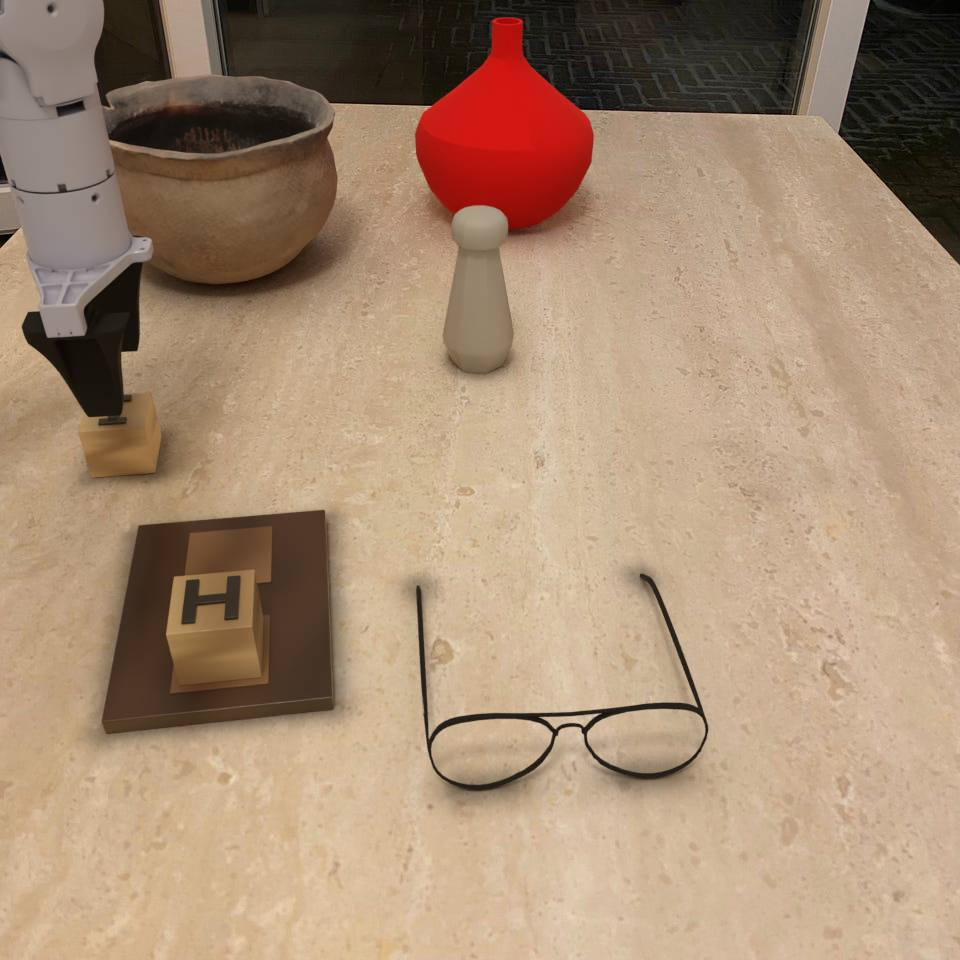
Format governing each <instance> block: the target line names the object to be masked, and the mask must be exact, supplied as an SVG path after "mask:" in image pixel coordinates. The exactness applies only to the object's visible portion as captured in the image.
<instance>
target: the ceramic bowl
mask: <svg viewBox="0 0 960 960" xmlns="http://www.w3.org/2000/svg"><path fill="white" fill-rule="evenodd" d="M105 98H106V100H107V102H108V104H109V107H108V106H105V105H102V104H101V106H102V111H103V115H104V120H105V124H106V129H107V133H108V138H109V143H110V147H111V152H112V156H113V161H114V165H115V170H116V175H117V179H118V184H119V189H120V194H121V198H122V203H123V208H124V212H125V217H126V221H127V226H128V230H129V232H130V233H131V235H132V236H142V237H146V238H150V239H151V240H152V244H153V249H154V250H153V254H152V257H151V259H150V260H148V261H145V263H148V264H150V265H151V266H153V267H154V268H155V269H158V270H159V271H161V272H163V273H166V274H168V275H170V276H172V277H174V278H177V279H179V280H182V281H186V282H190V283H199V284H210V285H224V284H235V283H241V282H247V281H251V280H256V279H259V278H261V277H265V276H268V275H270V274H272V273H273V272H276V271H278V270H280V269H281V268H283V267H284V266H287V264H288V263H290V262H291V261H292V260H294V259H295V258H296V257H297V256H299V254H300V253H301V252H302V251H303V249H304V248H305V247H306V246H308V244H309V243H311V241H312V240H313V239H314V238H315V237H316V236H317V235H318V234H319V233H320V231H321V230H322V229H323V228H324V226H325V225H326V223H327V222H328V221H327V220H328V218H329V216H330V214H331V211H332V210H333V207H334V204H335V202H336V197H337V192H338V191H337V190H338V178H339V176H338V171H337V167H336V161H335V155H334V152H333V149H332V146H331V143H330V141H329V135H330V133H331V131H332V129H333V127H334V121H335V116H336V112H335V109H334V107H332V105H331V103H330V102H329V101H328V99H326V97H325V95H323V94H321V93H320V92H318V91H316V90H313V89H310V88H306V87H303V86H300V85H298V84H296V83H293V82H292V81H289V80H282V79H273V78H269V77H264V76H261V75H260V76H257V75H256V76H255V75H253V76H251V75H250V76H249V75H248V76H228V75H219V74H212V73H210V74H201V75H199V74H198V75H192V76H181V77H179V76H178V77H173V78H168V79H162V80H156V81H150V80H145V81H143V82H139V83H137V84H132V85H127V86H124V87H120V88H119V87H118V88H116V89H113V90H111V91H108V92H107V93H106V94H105Z"/></svg>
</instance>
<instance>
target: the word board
mask: <svg viewBox="0 0 960 960" xmlns="http://www.w3.org/2000/svg"><path fill="white" fill-rule="evenodd" d="M327 529H328V527H327V514H326V510H325V509H317V510H315V509H314V510H304V511H291V512H280V513H269V514H258V515H257V514H256V515H245V516H232V517H221V518H220V517H219V518H209V519H208V518H207V519H195V520H186V521H185V520H184V521H172V522H161V523H149V524H139V525H138V526H137V531H136V536H135V542H134V546H133V553H132V556H131V557H132V558H131V562H130V563H131V564H130V568H129V574H128V579H127V584H126V588H125V589H126V590H125V596H124V599H123V606H122V610H121V616H120V621H119V627H118V632H117V638H116V642H115V649H114V654H113V659H112V664H111V670H110V675H109V681H108V685H107V690H106V695H105V701H104V707H103V712H102V717H101V725H102V727H103V730H104V733H105V734H113V733H123V732H132V731H141V730H151V729H160V728H169V727H170V728H171V727H178V726H187V725H188V726H189V725H197V724H205V723H206V724H207V723H216V722H225V721H234V720H235V721H236V720H244V719H253V718H262V717H271V716H280V715H282V716H283V715H291V714H300V713H308V712H318V711H319V712H320V711H327V710H333V709H334V683H333V681H334V680H333V679H334V678H333V659H332V658H333V655H332V654H333V653H332V631H331V629H332V628H331V611H330V610H331V608H330V607H331V604H330V583H329V582H330V581H329V580H330V577H329V560H328V559H329V558H328V557H329V555H328V532H327V531H328V530H327ZM243 570H255V573H256V579H257V585H258V590H259V596H260V602H261V608H262V613H263V619H264V622H263V652H262V677H258V678H248V679H238V680H229V681H219V682H209V683H199V684H190V685H179V682H178V679H177V675H176V671H175V667H174V663H173V660H172V656H171V652H170V648H169V644H168V641H167V637H166V631H167V623H168V616H169V609H170V602H171V594H172V587H173V580H174V577H177V576H188V575H199V574H210V573H221V572H232V571H243Z"/></svg>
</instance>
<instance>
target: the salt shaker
mask: <svg viewBox="0 0 960 960" xmlns="http://www.w3.org/2000/svg"><path fill="white" fill-rule="evenodd" d="M453 215H454V214H453ZM452 217H453V218H452V220H451V226H450V228H451V230H450V231H451V237H452V240H453V241H454V244H456V245H457V246H458V250H457V255H456V259H455V260H456V261H455V264H454V265H455V266H454V271H453V275H452V277H453V278H452V281H451V282H452V283H451V288H450V293H449V298H448V303H447V308H446V314H445V318H444V325H443V331H442V341H443V344H444V346H445V348H446V350H447V352H448V355H449V357H450V358H451V360H452V362H453V363H454V364H455V365H456V366H457V367H458V368H459V369H460V370H462V372H464V373H472V374H473V373H475V374H483V375H484V374H488V373H491V372H492V371H494V370H497V369H499V368H501V367H502V366H503V364H504V363H505V360H506V358H507V356H508V355H509V352H510V350H511V348H512V345H513V342H514V341H513V340H514V337H515V331H514V326H513V320H512V319H513V318H512V315H511V309H510V302H509V297H508V292H507V286H506V281H505V274H504V269H503V263H502V258H501V257H502V256H501V252H500V247H501V246H503V245H505V244H506V241H507V238H508V233H509V230H508V221H507V217H506V216H505V215H504V214H503V213H502V212H501V211H500V210H499V209H496V208H494V207H490V206H484V205H481V206H470V207H465V208H463V209H461V210H460V211H458V212H457V213H456V214H455V215H454V216H452Z"/></svg>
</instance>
